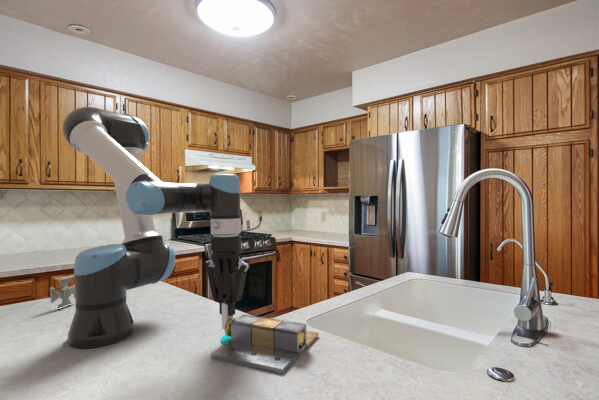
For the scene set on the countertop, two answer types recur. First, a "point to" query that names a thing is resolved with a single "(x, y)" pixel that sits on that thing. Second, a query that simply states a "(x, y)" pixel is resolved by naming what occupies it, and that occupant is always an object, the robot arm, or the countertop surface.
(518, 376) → the countertop surface
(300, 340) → the pin
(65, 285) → the cross
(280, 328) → the sliding bolt latch
